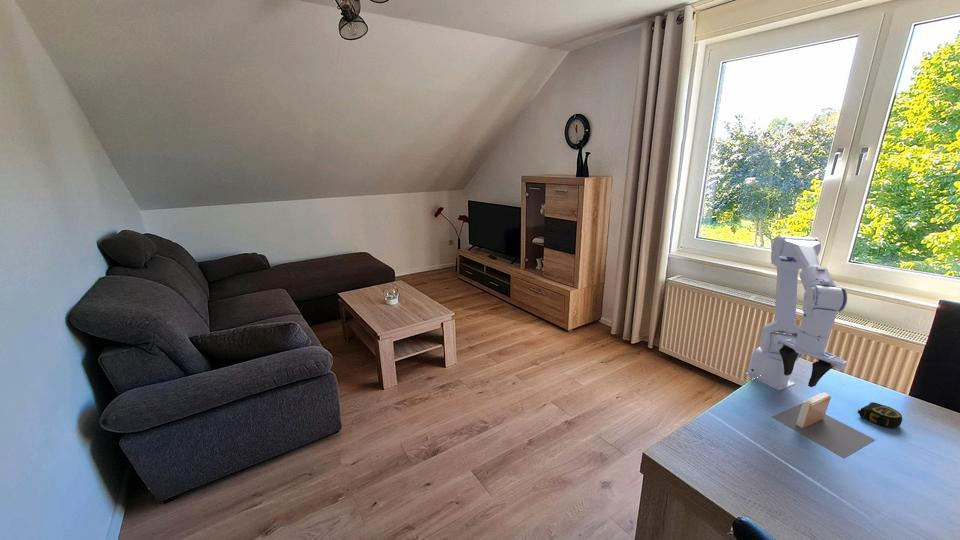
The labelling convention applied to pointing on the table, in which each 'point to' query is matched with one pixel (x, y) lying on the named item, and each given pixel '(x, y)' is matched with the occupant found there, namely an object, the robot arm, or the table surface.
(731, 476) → the table surface
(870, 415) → the tape measure
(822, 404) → the cream rectangular panel
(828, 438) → the mat
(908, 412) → the table surface
